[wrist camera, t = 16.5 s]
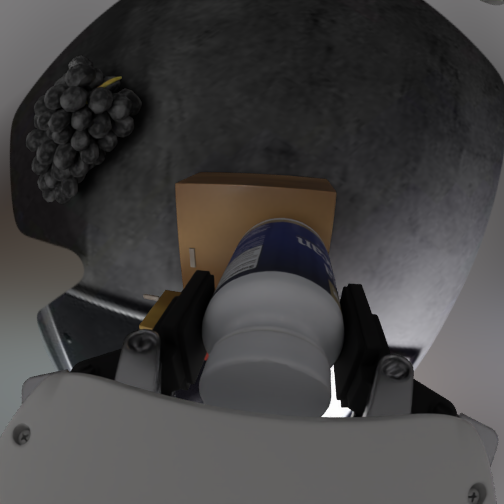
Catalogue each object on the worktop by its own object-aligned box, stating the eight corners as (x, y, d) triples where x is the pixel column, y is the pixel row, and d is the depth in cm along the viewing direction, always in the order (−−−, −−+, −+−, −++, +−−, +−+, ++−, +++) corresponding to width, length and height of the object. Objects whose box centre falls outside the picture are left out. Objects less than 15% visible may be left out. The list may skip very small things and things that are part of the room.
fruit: (11, 239, 16) (80, 78, 10) (-2, 172, 16) (62, 32, 11) (84, 227, 24) (172, 109, 18) (62, 170, 24) (135, 60, 18)
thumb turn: (168, 308, 21) (142, 347, 16) (165, 289, 20) (137, 327, 16) (229, 318, 20) (213, 363, 16) (229, 298, 19) (211, 343, 15)
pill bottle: (346, 262, 15) (387, 404, 7) (280, 312, 17) (262, 451, 9) (283, 195, 14) (265, 301, 6) (218, 256, 16) (146, 384, 8)
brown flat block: (160, 172, 21) (127, 184, 17) (327, 178, 20) (337, 192, 15) (173, 306, 27) (153, 338, 22) (307, 322, 25) (308, 360, 21)
